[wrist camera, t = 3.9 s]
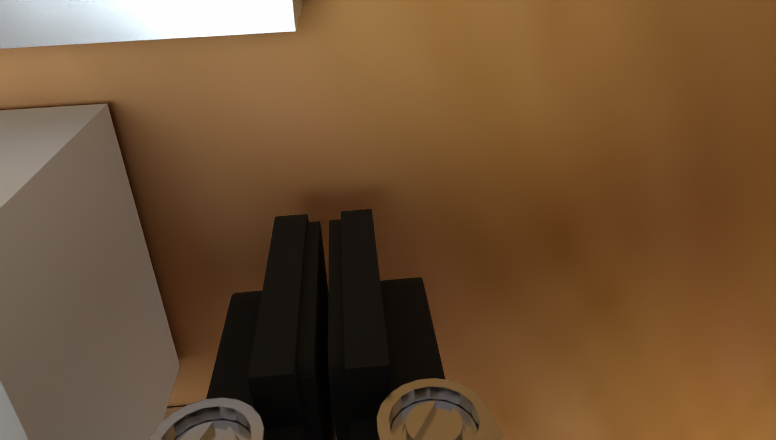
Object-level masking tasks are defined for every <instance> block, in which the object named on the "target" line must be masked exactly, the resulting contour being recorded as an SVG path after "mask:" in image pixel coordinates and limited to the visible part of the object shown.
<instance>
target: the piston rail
mask: <svg viewBox="0 0 776 440" xmlns="http://www.w3.org/2000/svg"><path fill="white" fill-rule="evenodd" d="M302 6H303V2H302V0H0V49H2V48H19V47H36V46H53V45H70V44H86V43H103V42H120V41H137V40H154V39H171V38H188V37H205V36H222V35H239V34H255V33H272V32H289V31H296V28H297V24H298V21H299V17H300V13H301V10H302ZM182 408H184V407H173V408H167V409H166V412H165V415H164V418H163V421H164V420H166V419H167V418H168V417H169V416H170V415H171V414H173V413H175V412H176V411H178V410H180V409H182ZM163 421H162V422H163Z"/></svg>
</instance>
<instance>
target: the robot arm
mask: <svg viewBox="0 0 776 440" xmlns="http://www.w3.org/2000/svg"><path fill="white" fill-rule="evenodd" d="M149 440H504V438H503V436H502V434H501V432H500V430H499V428H498V426H497V424H496V422H495V420H494V418H493V416H492V414H491V412H490V410H489V408H488V406H487V405H486V404H485V402H484V401H483V400H482V398H481V397H480V396H479V395H478V394H477V393H475V392H474V391H472V390H471V389H470V388H468V387H467V386H465V385H462V384H459V383H457V382H454V381H452V380H445V376H444V372H443V367H442V363H441V358H440V354H439V350H438V345H437V341H436V336H435V332H434V327H433V323H432V319H431V314H430V310H429V305H428V301H427V296H426V292H425V288H424V283H423V280H422V278H421V277H419V278H407V279H395V280H383V281H380V277H379V268H378V260H377V251H376V243H375V234H374V226H373V217H372V209H366V210H353V211H341V220H330V221H329V292H328V283H327V275H326V266H325V258H324V249H323V240H322V232H321V224H320V221H316V222H309V220H308V215H307V214H303V215H290V216H277V217H275V221H274V227H273V233H272V239H271V244H270V250H269V256H268V262H267V268H266V273H265V279H264V285H263V291H253V292H242V293H234V294H233V295H232V298H231V300H230V304H229V308H228V312H227V317H226V321H225V325H224V329H223V333H222V337H221V341H220V345H219V349H218V353H217V357H216V362H215V366H214V370H213V374H212V378H211V382H210V386H209V390H208V394H207V398H206V399H205V400H202V401H199V402H196V403H193V404H189V405H187V406H185V407H184V408H182V409H180V410H178V411H176V412H175V413H173V414H171V415H170V416H169V417H168V418H167V419H166V420H164V421H163V422H162V423H161V424H160V425H159V426H158V427H157V429H156V430H155V431H154V433H153V434H152V436H151V437H150V438H149Z"/></svg>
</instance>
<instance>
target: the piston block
mask: <svg viewBox="0 0 776 440" xmlns="http://www.w3.org/2000/svg"><path fill="white" fill-rule="evenodd" d="M179 369H180V364H179V361H178V357H177V353H176V350H175V346H174V343H173V339H172V335H171V332H170V328H169V325H168V321H167V317H166V314H165V310H164V307H163V303H162V299H161V296H160V292H159V288H158V285H157V281H156V278H155V274H154V270H153V267H152V263H151V260H150V256H149V252H148V249H147V245H146V242H145V238H144V234H143V231H142V227H141V224H140V220H139V216H138V213H137V209H136V206H135V202H134V198H133V195H132V191H131V188H130V184H129V180H128V177H127V173H126V170H125V166H124V162H123V159H122V155H121V152H120V148H119V144H118V141H117V137H116V134H115V130H114V126H113V123H112V119H111V116H110V112H109V108H108V105H107V104H93V105H78V106H62V107H46V108H30V109H14V110H0V440H149V438H150V437H151V436H152V434H153V433H154V431H155V430H156V429H157V427H158V426H159V425H160V424H161V423H162V421H163V418H164V415H165V412H166V409H167V406H168V403H169V400H170V397H171V393H172V390H173V387H174V384H175V381H176V378H177V375H178V372H179Z"/></svg>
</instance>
